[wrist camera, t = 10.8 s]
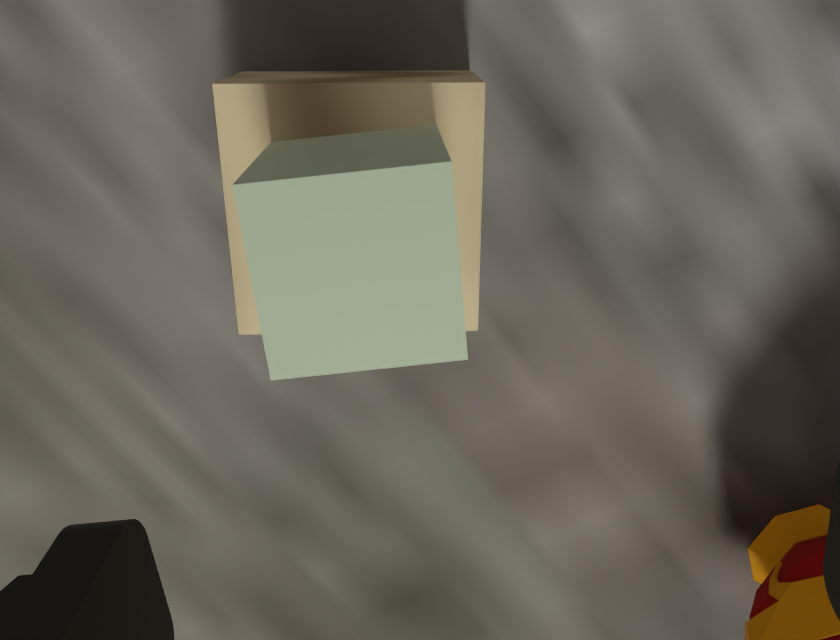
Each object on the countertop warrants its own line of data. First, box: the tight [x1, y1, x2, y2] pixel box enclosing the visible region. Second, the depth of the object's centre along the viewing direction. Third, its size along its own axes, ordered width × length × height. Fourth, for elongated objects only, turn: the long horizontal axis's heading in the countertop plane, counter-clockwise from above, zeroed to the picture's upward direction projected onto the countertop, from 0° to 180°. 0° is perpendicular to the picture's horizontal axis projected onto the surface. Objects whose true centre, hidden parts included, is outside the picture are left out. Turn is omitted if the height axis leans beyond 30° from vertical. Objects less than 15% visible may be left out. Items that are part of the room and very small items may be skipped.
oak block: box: [212, 70, 485, 335], centre depth 26 cm, size 8×8×5 cm
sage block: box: [232, 124, 468, 380], centre depth 20 cm, size 5×5×6 cm
